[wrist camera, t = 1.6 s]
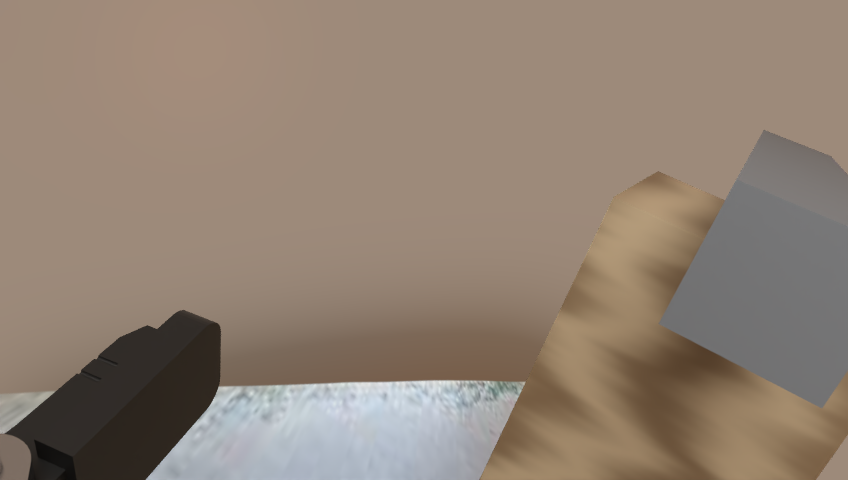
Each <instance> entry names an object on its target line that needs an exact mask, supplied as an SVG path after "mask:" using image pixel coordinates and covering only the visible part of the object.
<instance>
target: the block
mask: <svg viewBox="0 0 848 480" xmlns="http://www.w3.org/2000/svg"><path fill="white" fill-rule="evenodd" d="M659 324H660V325H662V326H664V327H665V328H667V329H669V330H671V331H673V332H675V333H677V334H679V335H681V336H683V337H685V338H687V339H689V340H691V341H693V342H694V343H696V344H698V345H700V346H702V347H704V348H706V349H708V350H710V351H712V352H714V353H716V354H718V355H720V356H721V357H723V358H725V359H727V360H729V361H731V362H733V363H735V364H737V365H739V366H741V367H743V368H745V369H747V370H748V371H750V372H752V373H754V374H756V375H758V376H760V377H762V378H764V379H766V380H768V381H770V382H772V383H774V384H776V385H777V386H779V387H781V388H783V389H785V390H787V391H789V392H791V393H793V394H795V395H797V396H799V397H801V398H803V399H804V400H806V401H808V402H810V403H812V404H814V405H816V406H818V407H820V408H823V406H824V405H825V403H826V402H827V401H828V399H829V398H830V396H831V395H832V393H833V392H834V390H835V389H836V387H837V386H838V384H839V383H840V381H841V380H842V378H843V377H844V375H845V374H846V373H847V371H848V175H847V173H846V172H845V171H844V170H843V169H842V168H841V167H840V166H839V165H838V163H837V162H835V160H834V159H833V158H832V157H831V156H829V155H826V154H824V153H821V152H819V151H816V150H814V149H811V148H808V147H806V146H803V145H801V144H798V143H796V142H793V141H791V140H788V139H786V138H783V137H780V136H778V135H775V134H773V133H770V132H768V131H765V130H764V131H763V133H762V135H761V136H760V138H759V140H758V142H757V144H756V145H755V147H754V149H753V151H752V152H751V154H750V156H749V158H748V160H747V162H746V163H745V165H744V167H743V169H742V170H741V173H740V174H739V176H738V178H737V180H736V181H735V183H734V185H733V187H732V189H731V191H730V192H729V194H728V196H727V198H726V200H725V202H724V204H723V205H722V207H721V209H720V211H719V213H718V215H717V216H716V218H715V220H714V222H713V224H712V226H711V228H710V229H709V231H708V233H707V235H706V237H705V239H704V241H703V242H702V244H701V246H700V248H699V250H698V252H697V253H696V255H695V257H694V259H693V261H692V263H691V265H690V266H689V268H688V270H687V272H686V274H685V276H684V278H683V279H682V281H681V283H680V285H679V287H678V289H677V291H676V292H675V294H674V296H673V298H672V300H671V302H670V303H669V305H668V307H667V309H666V311H665V313H664V315H663V316H662V318H661V320H660V322H659Z"/></svg>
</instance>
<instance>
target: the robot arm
mask: <svg viewBox="0 0 848 480" xmlns="http://www.w3.org/2000/svg"><path fill="white" fill-rule="evenodd" d="M220 330H221V329H220V326H219V324H218V323H215V322H213V321H210V320H208V319H205V318H203V317H200V316H198V315H195V314H193V313H190V312H187V311H185V310H182V311H178V312H177V313H175V314H174V315H173V316H172V317H170V318H169V319H168V320H167V321H166V322H165V323H164V324H163V325H161V326H160V327H159V328H158V329H155V328H153V327H150V326H145V327H142V328H140V329H138V330H136V331H133V332H131V333H129V334H126V335H124V336H122V337H120V338H118V339H117V340H116V341H115V342H114V343H113V344H112V345H110V346H109V347H108V348H107V349H105V350H104V351H103V352H102V353H101V354H100V355H99V356H98V358H97V359H94V360H92V361H91V362H90V363H89V364H88V365H87V366H85V367H84V368H83V369H82V370H81V373H80V374H76V375H75V376H74V377H72V378H71V379H70V380H69V381H68V382H66V383H65V384H64V385H63V386H62V387H61V388H59V389H58V390H57V391H56V392H55V393H53V394H52V395H51V396H50V397H49V398H48V399H46V400H45V401H44V402H43V403H42V404H40V405H39V406H38V407H37V408H36V409H35V410H33V411H32V412H31V413H30V414H29V415H27V416H26V417H25V418H24V419H23V420H22V421H20V422H19V423H18V424H17V425H16V426H14V427H13V428H12V429H11V430H9V431H8V432H6V433H5V434H0V480H146V478H147V477H148V476H149V475H150V474H151V473H152V472H153V470H154V469H155V468H156V467H157V466H158V465H159V464H160V462H161V461H162V460H163V459H164V458H165V457H166V455H167V454H168V453H169V452H170V451H171V450H172V449H173V447H174V446H175V445H176V444H177V443H178V442H179V441H180V439H181V438H182V437H183V436H184V435H185V434H186V433H187V431H188V430H189V429H190V428H191V427H192V426H193V425H194V423H195V422H196V421H197V420H198V419H199V418H200V417H201V415H202V414H203V413H204V412H205V411H206V410H207V408H208V407H209V406H210V404H211V402H212V401H213V399H214V397H215V395H216V392H217V390H218V386H219V382H220V346H221V344H220V343H221V331H220Z"/></svg>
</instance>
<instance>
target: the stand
mask: <svg viewBox="0 0 848 480" xmlns="http://www.w3.org/2000/svg"><path fill="white" fill-rule="evenodd" d="M724 202H725V200H723V199H720V198H718V197H716V196H713V195H711V194H709V193H707V192H704V191H702V190H700V189H697V188H695V187H693V186H691V185H688V184H686V183H683V182H681V181H679V180H677V179H674V178H672V177H670V176H667V175H665V174H663V173H661V172H656V173H655V174H653V175H651V176H649V177H647V178H646V179H644V180H643V181H641V182H639V183H637V184H635V185H634V186H632V187H630V188H628V189H627V190H625V191H623V192H622V193H620V194H618V195H616V196H615V197H614V198H613V200H612V202H611V204H610V206H609V208H608V211H607V212H606V214H605V217H604V219H603V221H602V223H601V225H600V227H599V229H598V231H597V234H596V236H595V238H594V240H593V242H592V244H591V246H590V248H589V250H588V252H587V255H586V257H585V259H584V261H583V263H582V265H581V267H580V269H579V271H578V273H577V276H576V278H575V280H574V282H573V284H572V286H571V288H570V290H569V293H568V295H567V297H566V299H565V301H564V303H563V305H562V307H561V309H560V311H559V314H558V316H557V318H556V320H555V322H554V324H553V326H552V328H551V330H550V333H549V335H548V337H547V339H546V341H545V343H544V345H543V347H542V349H541V352H540V354H539V356H538V358H537V360H536V362H535V364H534V366H533V368H532V370H531V373H530V375H529V377H528V379H527V381H526V383H525V385H524V387H523V389H522V391H521V393H520V396H519V398H518V400H517V402H516V404H515V406H514V408H513V410H512V412H511V415H510V417H509V419H508V421H507V423H506V425H505V427H504V429H503V431H502V433H501V436H500V438H499V440H498V442H497V444H496V446H495V448H494V450H493V452H492V455H491V457H490V459H489V461H488V463H487V465H486V467H485V469H484V471H483V474H482V476H481V478H480V480H816V479H817V477H818V476H819V475H820V473H821V472H822V470H823V469H824V467H825V466H826V465H827V463H828V462H829V460H830V459H831V458H832V456H833V455H834V453H835V452H836V451H837V449H838V448H839V446H840V445H841V443H842V442H843V441H844V439H845V438H846V436H847V435H848V371H847V373H846V374H845V375H844V377H843V378H842V380H841V381H840V383H839V384H838V386H837V387H836V389H835V390H834V392H833V393H832V395H831V396H830V398H829V399H828V401H827V402H826V403H825V405H824V406H823V408H820V407H818V406H816V405H814V404H812V403H810V402H808V401H806V400H804V399H803V398H801V397H799V396H797V395H795V394H793V393H791V392H789V391H787V390H785V389H783V388H781V387H779V386H777V385H776V384H774V383H772V382H770V381H768V380H766V379H764V378H762V377H760V376H758V375H756V374H754V373H752V372H750V371H748V370H747V369H745V368H743V367H741V366H739V365H737V364H735V363H733V362H731V361H729V360H727V359H725V358H723V357H721V356H720V355H718V354H716V353H714V352H712V351H710V350H708V349H706V348H704V347H702V346H700V345H698V344H696V343H694V342H693V341H691V340H689V339H687V338H685V337H683V336H681V335H679V334H677V333H675V332H673V331H671V330H669V329H667V328H665V327H664V326H662V325H660V324H659V322H660V320H661V318H662V316H663V315H664V313H665V311H666V309H667V307H668V305H669V303H670V302H671V300H672V298H673V296H674V294H675V292H676V291H677V289H678V287H679V285H680V283H681V281H682V279H683V278H684V276H685V274H686V272H687V270H688V268H689V266H690V265H691V263H692V261H693V259H694V257H695V255H696V253H697V252H698V250H699V248H700V246H701V244H702V242H703V241H704V239H705V237H706V235H707V233H708V231H709V229H710V228H711V226H712V224H713V222H714V220H715V218H716V216H717V215H718V213H719V211H720V209H721V207H722V205H723V204H724Z"/></svg>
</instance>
